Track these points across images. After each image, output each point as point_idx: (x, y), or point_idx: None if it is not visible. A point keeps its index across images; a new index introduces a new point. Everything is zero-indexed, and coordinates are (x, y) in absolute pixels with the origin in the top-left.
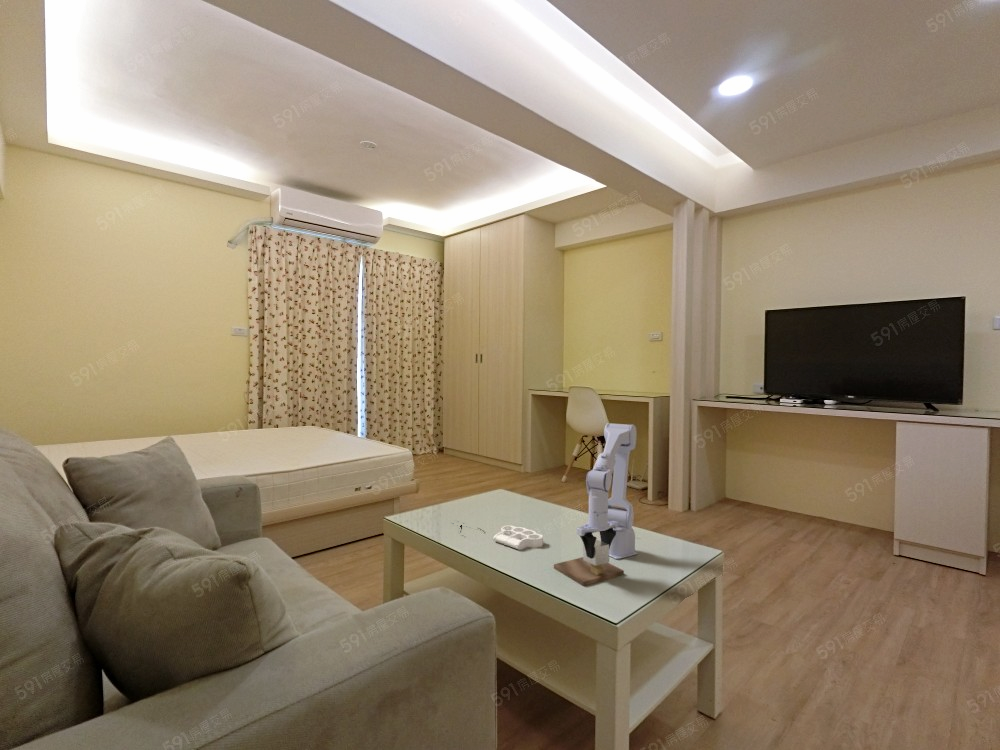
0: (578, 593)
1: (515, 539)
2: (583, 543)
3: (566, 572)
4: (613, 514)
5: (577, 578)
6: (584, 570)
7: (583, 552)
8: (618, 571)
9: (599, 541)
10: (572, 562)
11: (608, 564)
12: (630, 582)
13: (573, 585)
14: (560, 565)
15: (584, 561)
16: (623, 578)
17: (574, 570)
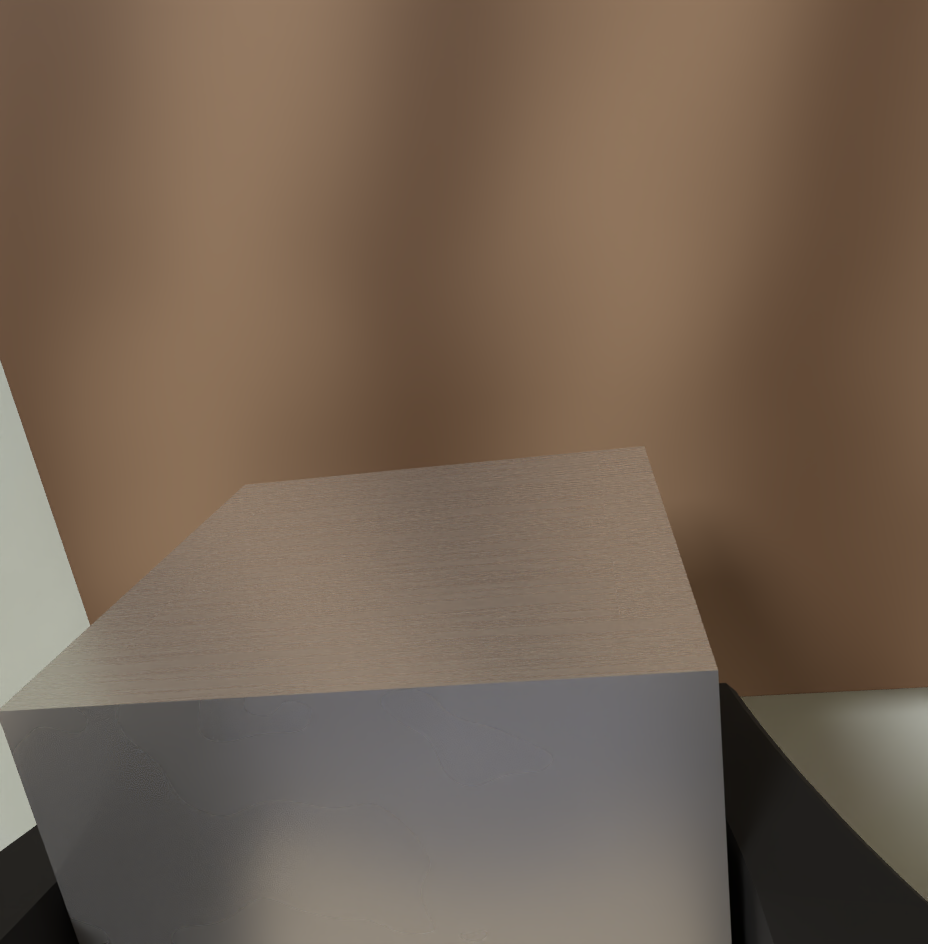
0: (24, 795)
1: None
2: (17, 710)
3: (7, 366)
4: None
5: (89, 617)
6: (321, 437)
7: (170, 559)
8: (843, 676)
9: (654, 894)
10: (275, 12)
11: (915, 384)
12: None
13: (38, 628)
14: None
15: (550, 62)
16: (815, 733)
17: (154, 371)
